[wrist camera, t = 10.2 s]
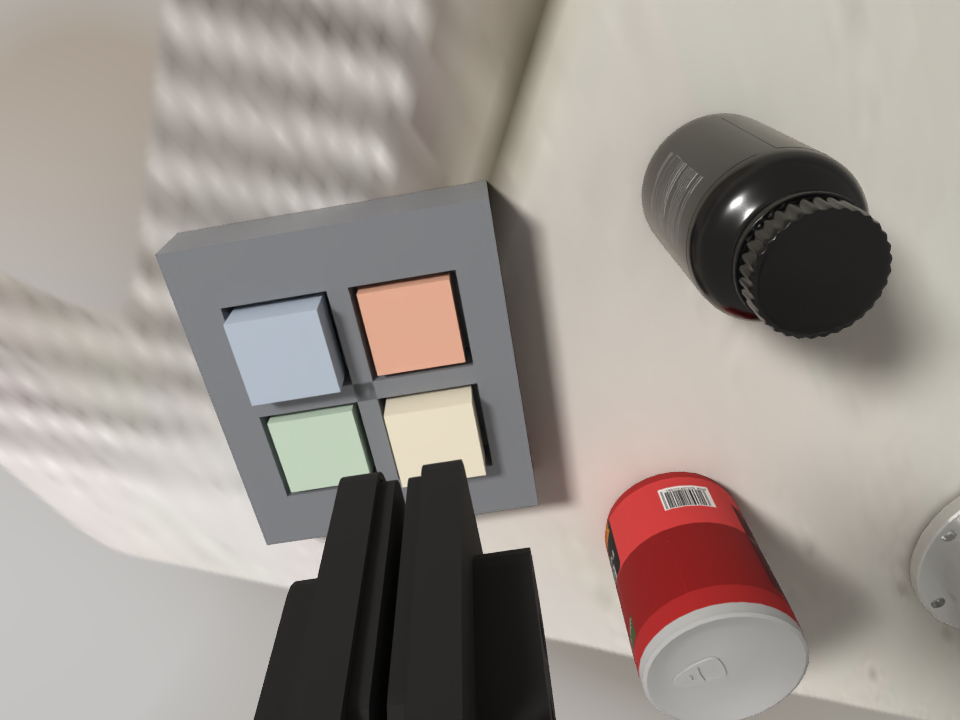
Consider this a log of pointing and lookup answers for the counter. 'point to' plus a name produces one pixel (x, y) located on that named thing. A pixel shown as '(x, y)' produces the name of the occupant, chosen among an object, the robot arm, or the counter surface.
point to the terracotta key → (412, 323)
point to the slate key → (286, 349)
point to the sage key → (321, 445)
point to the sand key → (435, 430)
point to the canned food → (701, 602)
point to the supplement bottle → (766, 226)
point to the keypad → (354, 334)
